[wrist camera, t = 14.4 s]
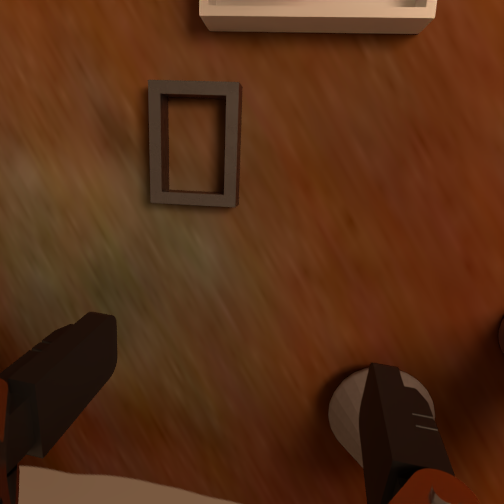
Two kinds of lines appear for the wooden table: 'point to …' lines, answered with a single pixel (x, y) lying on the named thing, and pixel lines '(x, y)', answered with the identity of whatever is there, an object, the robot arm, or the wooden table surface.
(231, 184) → the grey flat rectangular frame
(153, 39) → the wooden table surface
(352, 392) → the coffee pot
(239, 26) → the tray
